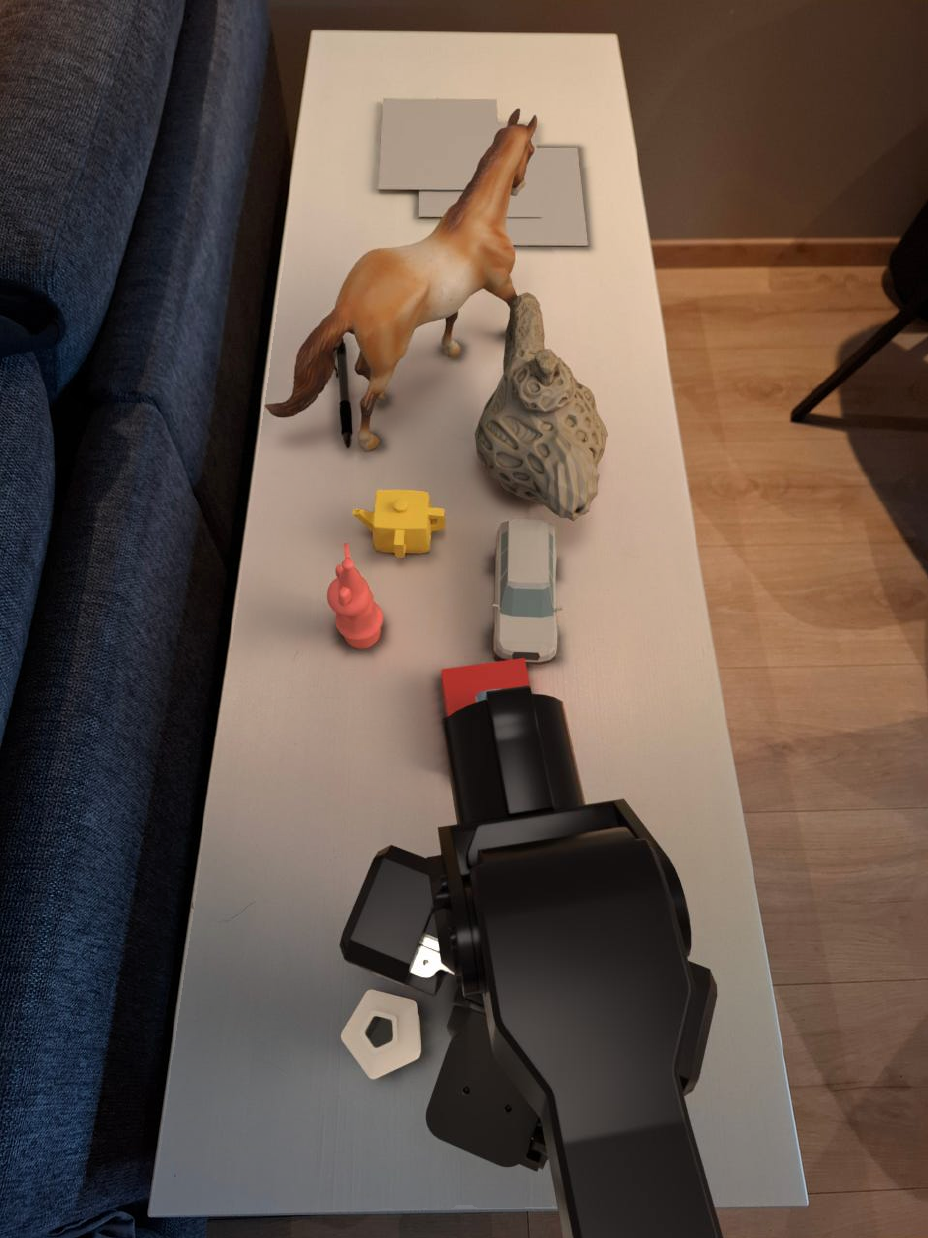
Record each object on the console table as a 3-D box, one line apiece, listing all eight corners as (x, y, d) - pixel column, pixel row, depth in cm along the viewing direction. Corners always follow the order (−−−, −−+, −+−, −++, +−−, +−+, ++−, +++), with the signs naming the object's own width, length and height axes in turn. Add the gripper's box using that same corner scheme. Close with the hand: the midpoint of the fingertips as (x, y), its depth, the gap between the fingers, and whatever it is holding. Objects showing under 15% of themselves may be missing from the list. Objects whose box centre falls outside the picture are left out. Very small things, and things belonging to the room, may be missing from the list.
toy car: (489, 669, 72) (491, 644, 67) (492, 539, 78) (495, 508, 73) (557, 672, 72) (565, 647, 67) (556, 541, 78) (562, 510, 73)
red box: (540, 763, 68) (548, 737, 63) (455, 775, 68) (456, 750, 62) (521, 671, 72) (528, 639, 66) (441, 682, 71) (440, 651, 66)
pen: (330, 342, 88) (328, 333, 87) (346, 340, 88) (345, 332, 87) (337, 451, 82) (335, 443, 81) (354, 449, 82) (353, 442, 81)
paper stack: (572, 104, 106) (573, 99, 105) (587, 245, 95) (588, 240, 94) (383, 103, 106) (383, 97, 105) (376, 244, 94) (375, 239, 94)
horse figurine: (508, 289, 92) (522, 99, 73) (559, 330, 89) (588, 143, 71) (274, 445, 82) (224, 271, 64) (325, 495, 80) (287, 328, 61)
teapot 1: (353, 568, 76) (347, 537, 71) (359, 514, 79) (353, 480, 74) (444, 571, 76) (443, 540, 72) (446, 516, 79) (446, 483, 74)
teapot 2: (623, 549, 77) (660, 444, 64) (499, 571, 76) (510, 468, 63) (563, 372, 87) (584, 247, 73) (451, 389, 86) (451, 266, 72)
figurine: (334, 613, 74) (315, 539, 63) (382, 606, 74) (370, 532, 64) (339, 656, 72) (320, 587, 62) (388, 649, 73) (377, 579, 62)
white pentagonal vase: (354, 1065, 59) (325, 1069, 45) (371, 997, 60) (349, 981, 47) (419, 1082, 58) (409, 1092, 45) (434, 1013, 60) (430, 1002, 47)
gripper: (265, 1060, 36) (317, 1056, 50) (702, 1252, 33) (627, 1191, 47) (372, 811, 40) (391, 872, 54) (762, 962, 38) (677, 985, 52)
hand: (514, 977), depth 52 cm, fingers closed on jar lid, 6 cm apart
